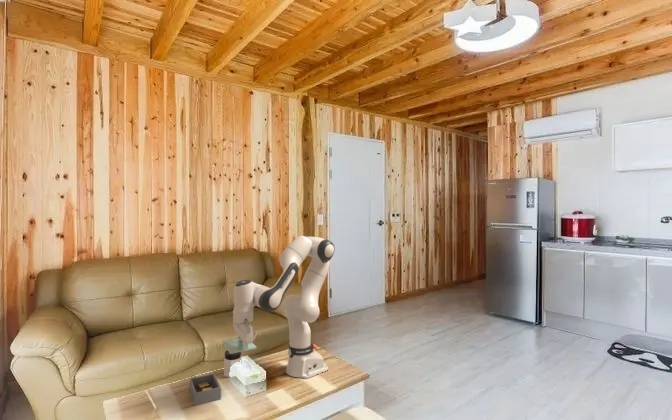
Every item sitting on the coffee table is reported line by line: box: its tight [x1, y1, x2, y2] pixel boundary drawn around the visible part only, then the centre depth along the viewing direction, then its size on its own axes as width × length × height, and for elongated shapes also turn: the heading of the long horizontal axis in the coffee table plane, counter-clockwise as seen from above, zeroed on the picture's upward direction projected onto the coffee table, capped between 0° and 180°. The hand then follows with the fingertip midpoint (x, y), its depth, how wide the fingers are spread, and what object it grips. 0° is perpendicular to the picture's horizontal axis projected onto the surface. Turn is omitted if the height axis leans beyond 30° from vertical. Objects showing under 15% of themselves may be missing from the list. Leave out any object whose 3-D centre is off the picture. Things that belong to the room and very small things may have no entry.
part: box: [198, 382, 209, 392], centre depth 164 cm, size 4×4×3 cm
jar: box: [223, 349, 242, 378], centre depth 181 cm, size 9×8×12 cm
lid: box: [221, 337, 257, 354], centre depth 167 cm, size 12×16×4 cm
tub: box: [188, 373, 222, 407], centre depth 161 cm, size 11×15×6 cm
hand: (242, 346), depth 162 cm, fingers closed on lid, 3 cm apart
